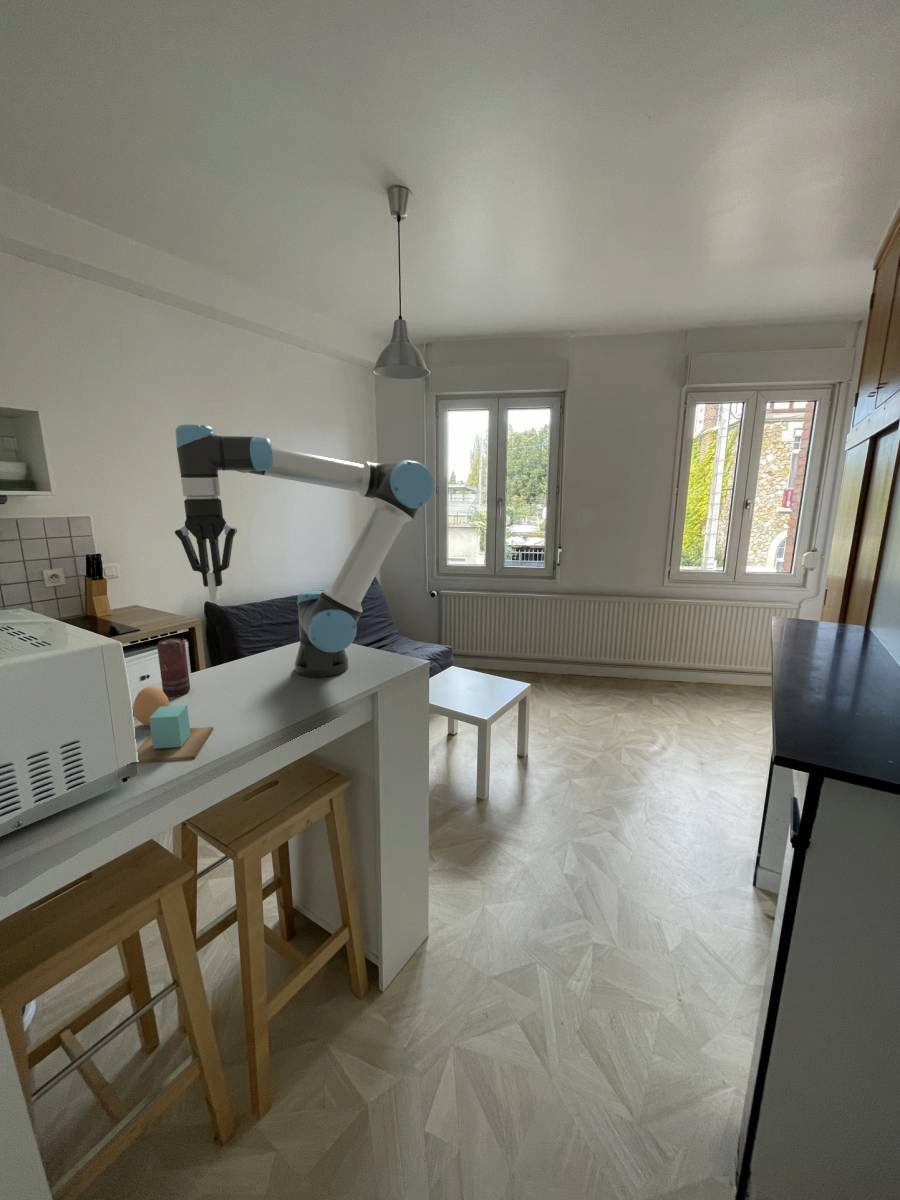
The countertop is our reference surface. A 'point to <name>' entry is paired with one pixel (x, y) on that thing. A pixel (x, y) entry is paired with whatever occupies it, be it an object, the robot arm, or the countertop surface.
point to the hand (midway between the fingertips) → (214, 599)
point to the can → (173, 666)
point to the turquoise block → (169, 726)
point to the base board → (175, 753)
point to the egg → (148, 703)
